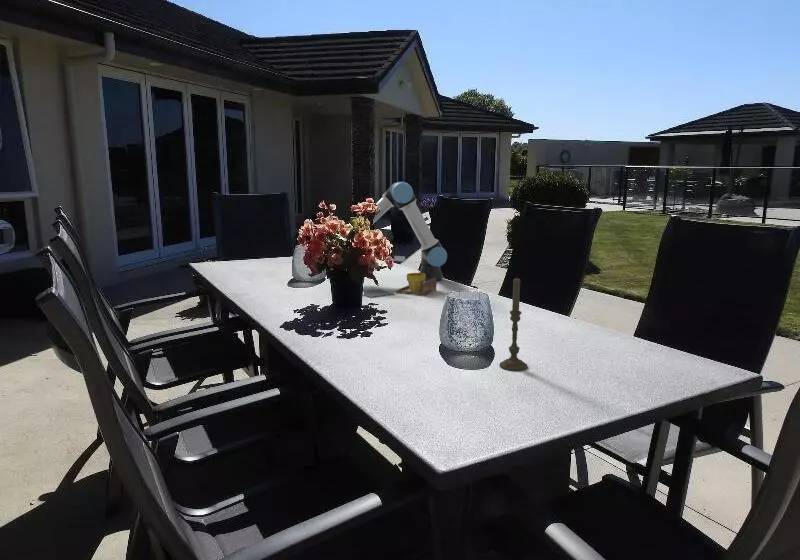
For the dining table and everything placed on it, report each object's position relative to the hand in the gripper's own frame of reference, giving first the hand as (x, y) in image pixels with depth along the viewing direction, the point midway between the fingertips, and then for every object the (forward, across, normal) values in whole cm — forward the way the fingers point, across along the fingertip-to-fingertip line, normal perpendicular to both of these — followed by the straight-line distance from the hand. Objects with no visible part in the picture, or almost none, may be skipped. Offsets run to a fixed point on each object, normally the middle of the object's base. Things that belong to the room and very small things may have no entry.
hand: (399, 260), depth 307 cm
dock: (+10, 0, -17) cm, 20 cm away
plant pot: (+10, 0, -17) cm, 20 cm away
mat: (-7, +15, -17) cm, 24 cm away
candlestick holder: (+92, +99, -17) cm, 136 cm away
